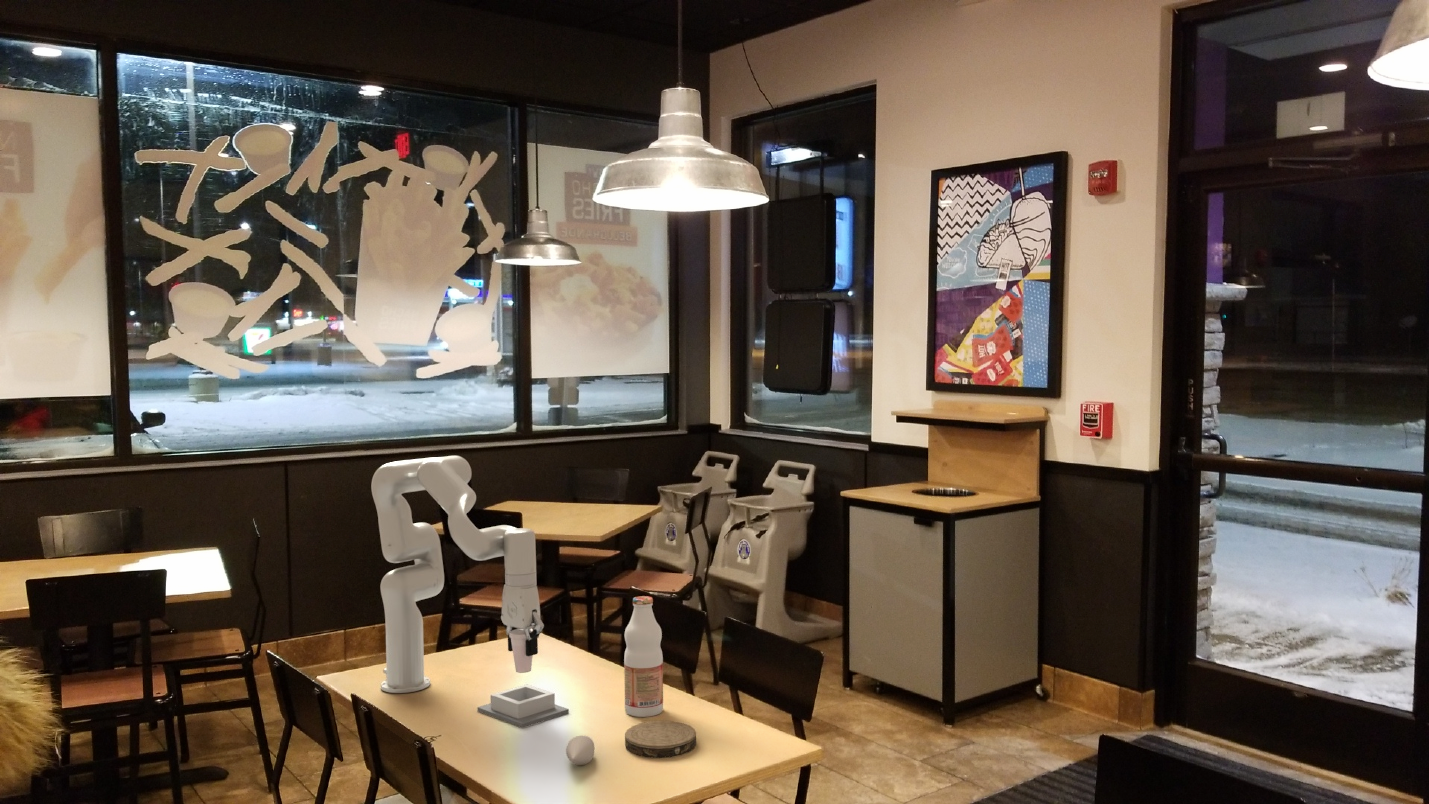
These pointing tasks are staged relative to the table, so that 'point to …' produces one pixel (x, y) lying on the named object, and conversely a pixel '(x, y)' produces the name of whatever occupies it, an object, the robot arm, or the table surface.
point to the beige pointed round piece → (580, 750)
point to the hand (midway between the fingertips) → (522, 651)
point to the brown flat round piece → (660, 739)
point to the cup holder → (523, 706)
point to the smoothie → (520, 650)
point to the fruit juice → (643, 661)
